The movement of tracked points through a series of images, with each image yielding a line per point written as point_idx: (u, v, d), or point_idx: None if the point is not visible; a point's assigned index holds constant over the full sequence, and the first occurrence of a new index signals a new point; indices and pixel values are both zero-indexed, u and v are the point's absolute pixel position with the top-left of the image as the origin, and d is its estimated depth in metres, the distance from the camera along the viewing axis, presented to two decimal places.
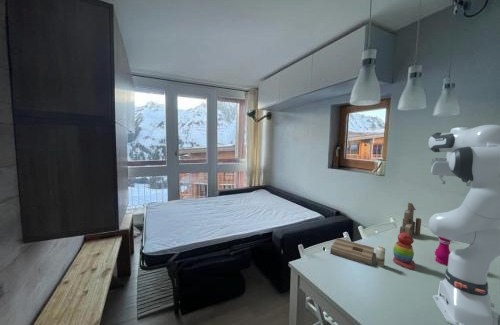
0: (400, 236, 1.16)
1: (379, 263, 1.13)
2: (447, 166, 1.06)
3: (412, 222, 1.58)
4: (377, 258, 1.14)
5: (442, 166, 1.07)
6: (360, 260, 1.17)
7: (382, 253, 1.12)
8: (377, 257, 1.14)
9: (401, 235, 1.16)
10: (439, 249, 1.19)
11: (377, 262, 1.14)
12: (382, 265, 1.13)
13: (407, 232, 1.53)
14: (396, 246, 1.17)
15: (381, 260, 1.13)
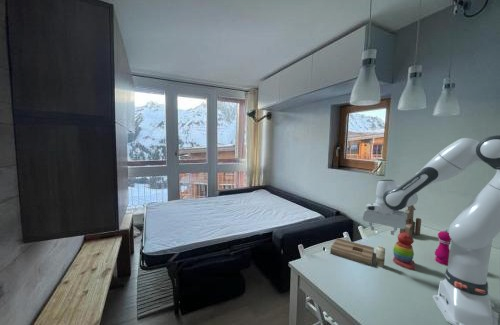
0: (400, 236, 1.16)
1: (379, 263, 1.13)
2: None
3: (412, 222, 1.58)
4: (377, 258, 1.14)
5: None
6: (360, 260, 1.17)
7: (382, 253, 1.12)
8: (377, 257, 1.14)
9: (401, 235, 1.16)
10: (439, 249, 1.19)
11: (377, 262, 1.14)
12: (382, 265, 1.13)
13: (407, 232, 1.53)
14: (396, 246, 1.17)
15: (381, 260, 1.13)
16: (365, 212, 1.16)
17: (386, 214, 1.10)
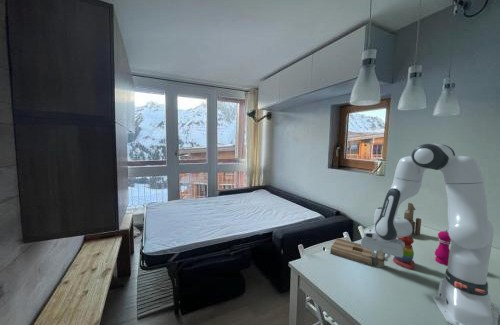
0: None
1: (379, 263, 1.13)
2: None
3: (412, 222, 1.58)
4: (377, 258, 1.14)
5: None
6: (360, 260, 1.17)
7: (382, 253, 1.12)
8: (377, 257, 1.14)
9: None
10: (439, 249, 1.19)
11: (377, 262, 1.14)
12: (382, 265, 1.13)
13: None
14: None
15: (381, 260, 1.13)
16: (363, 239, 1.17)
17: (384, 242, 1.11)
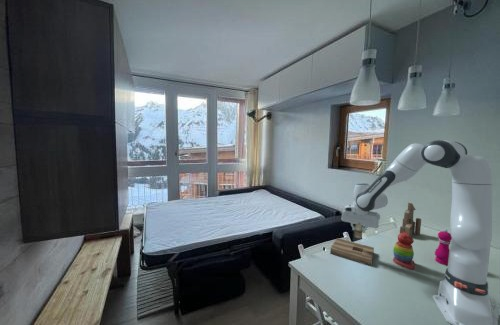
0: (400, 236, 1.16)
1: (357, 235, 1.24)
2: None
3: (412, 222, 1.58)
4: (356, 230, 1.24)
5: None
6: (360, 260, 1.17)
7: (360, 225, 1.23)
8: (356, 229, 1.24)
9: (401, 235, 1.16)
10: (439, 249, 1.19)
11: (355, 234, 1.25)
12: (360, 236, 1.23)
13: (407, 232, 1.53)
14: (396, 246, 1.17)
15: (359, 231, 1.23)
16: (343, 213, 1.27)
17: (361, 215, 1.21)
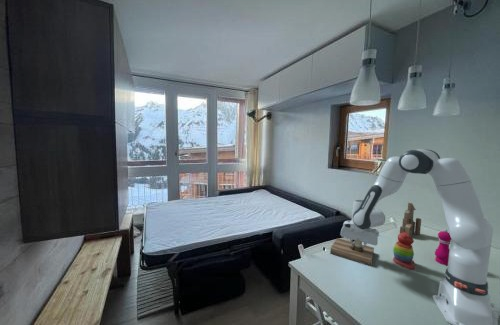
0: (400, 236, 1.16)
1: None
2: None
3: (412, 222, 1.58)
4: (355, 246, 1.25)
5: None
6: (360, 260, 1.17)
7: (359, 242, 1.23)
8: (355, 245, 1.25)
9: (401, 235, 1.16)
10: (439, 249, 1.19)
11: (355, 250, 1.25)
12: None
13: (407, 232, 1.53)
14: (396, 246, 1.17)
15: (358, 247, 1.24)
16: (342, 229, 1.28)
17: (360, 231, 1.22)
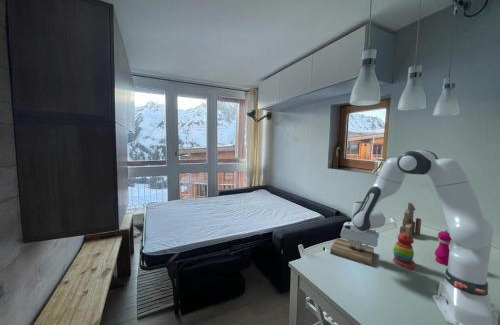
0: (400, 236, 1.16)
1: None
2: None
3: (412, 222, 1.58)
4: (355, 248, 1.25)
5: None
6: (360, 260, 1.17)
7: (359, 243, 1.23)
8: (355, 247, 1.25)
9: (401, 235, 1.16)
10: (439, 249, 1.19)
11: None
12: None
13: (407, 232, 1.53)
14: (396, 246, 1.17)
15: (358, 249, 1.24)
16: (343, 230, 1.28)
17: (360, 233, 1.22)
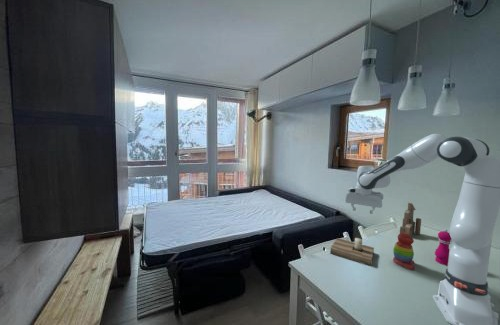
0: (400, 236, 1.16)
1: None
2: None
3: (412, 222, 1.58)
4: (355, 248, 1.25)
5: None
6: (360, 260, 1.17)
7: (359, 243, 1.23)
8: (355, 247, 1.25)
9: (401, 235, 1.16)
10: (439, 249, 1.19)
11: None
12: None
13: (407, 232, 1.53)
14: (396, 246, 1.17)
15: (358, 249, 1.24)
16: (347, 194, 1.30)
17: (365, 195, 1.24)
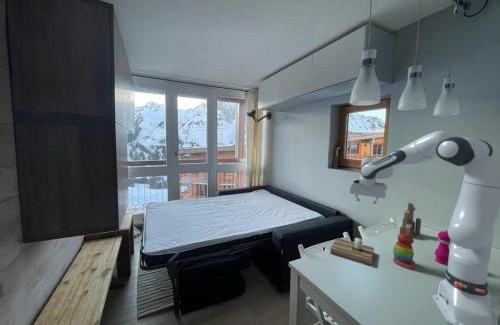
0: (400, 236, 1.16)
1: None
2: None
3: (412, 222, 1.58)
4: (355, 248, 1.25)
5: None
6: (360, 260, 1.17)
7: (359, 243, 1.23)
8: (355, 247, 1.25)
9: (401, 235, 1.16)
10: (439, 249, 1.19)
11: None
12: None
13: (407, 232, 1.53)
14: (396, 246, 1.17)
15: (358, 249, 1.24)
16: (352, 185, 1.34)
17: (369, 186, 1.28)
